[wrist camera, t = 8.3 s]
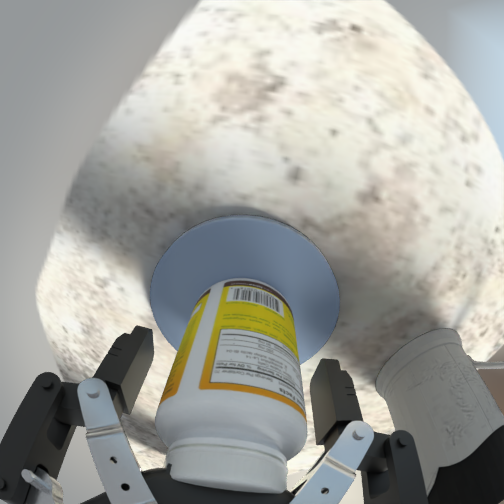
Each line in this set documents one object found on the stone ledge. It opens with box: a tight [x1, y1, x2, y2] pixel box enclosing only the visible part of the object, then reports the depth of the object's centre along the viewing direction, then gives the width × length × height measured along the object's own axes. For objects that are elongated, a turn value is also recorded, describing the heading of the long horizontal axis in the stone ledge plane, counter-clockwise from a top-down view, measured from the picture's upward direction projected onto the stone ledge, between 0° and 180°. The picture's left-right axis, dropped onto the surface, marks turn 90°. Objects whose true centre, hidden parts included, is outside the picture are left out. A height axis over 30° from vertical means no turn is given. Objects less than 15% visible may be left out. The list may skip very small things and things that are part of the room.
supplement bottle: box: [155, 278, 307, 494], centre depth 10 cm, size 6×6×10 cm
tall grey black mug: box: [376, 328, 504, 504], centre depth 11 cm, size 9×14×15 cm, turn 122°
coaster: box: [150, 215, 340, 365], centre depth 16 cm, size 11×11×1 cm
